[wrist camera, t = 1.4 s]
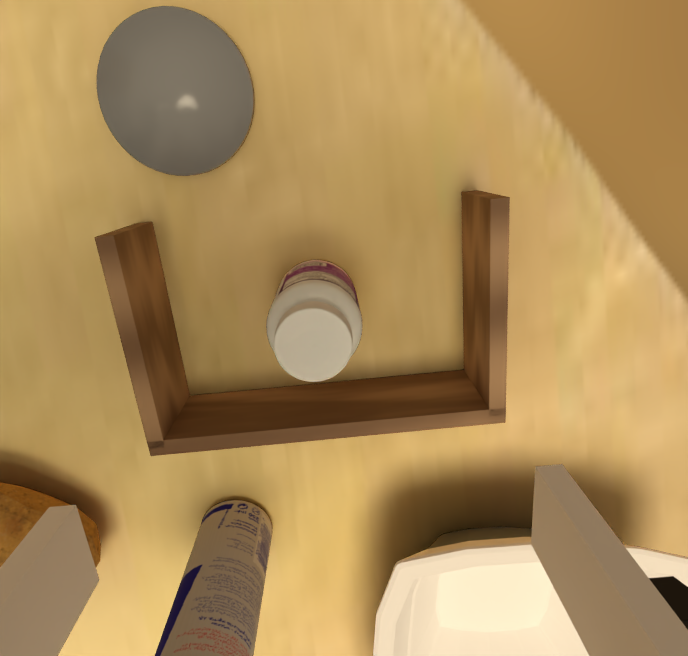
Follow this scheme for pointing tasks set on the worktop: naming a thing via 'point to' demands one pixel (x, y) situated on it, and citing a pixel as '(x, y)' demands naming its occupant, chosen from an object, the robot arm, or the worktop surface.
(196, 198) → the worktop surface
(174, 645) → the beverage can
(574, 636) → the bowl
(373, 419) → the wooden u-shaped frame
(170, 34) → the coaster
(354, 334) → the pill bottle
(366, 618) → the worktop surface
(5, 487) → the potato
